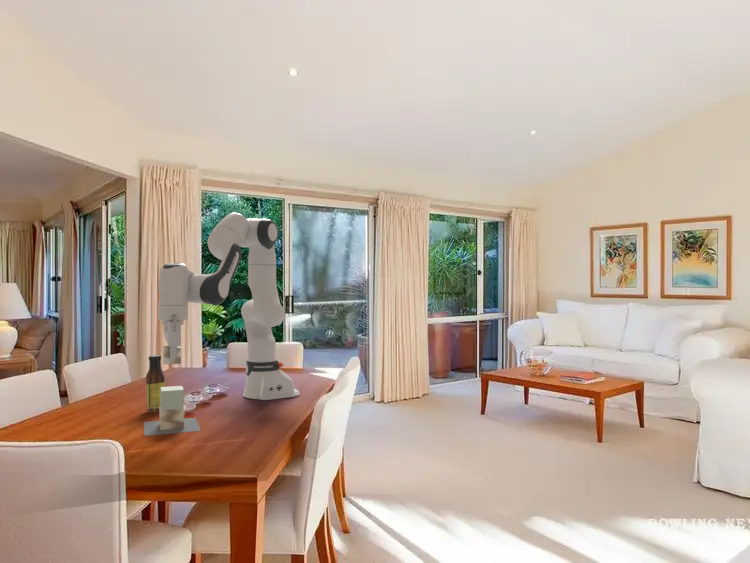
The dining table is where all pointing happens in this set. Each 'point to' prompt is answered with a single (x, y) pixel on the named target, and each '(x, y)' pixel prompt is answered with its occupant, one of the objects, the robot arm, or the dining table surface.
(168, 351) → the cream cube
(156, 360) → the sauce bottle
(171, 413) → the birch block
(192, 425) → the slate mat
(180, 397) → the sage block
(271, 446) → the dining table surface
